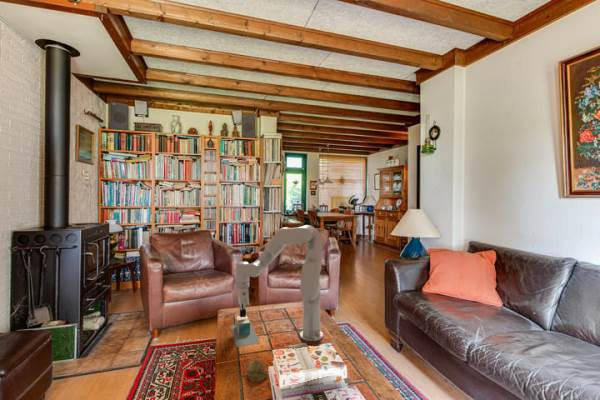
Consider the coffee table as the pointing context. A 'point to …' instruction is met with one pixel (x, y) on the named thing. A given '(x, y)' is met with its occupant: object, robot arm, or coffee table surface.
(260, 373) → the dark olive rounded lump
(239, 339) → the rubber mat
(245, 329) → the maple block
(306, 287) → the robot arm
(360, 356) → the coffee table surface
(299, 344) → the fossil replica
